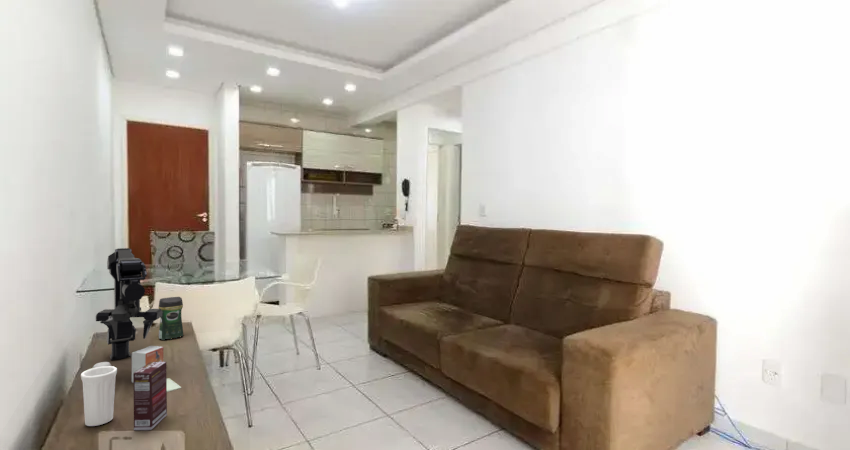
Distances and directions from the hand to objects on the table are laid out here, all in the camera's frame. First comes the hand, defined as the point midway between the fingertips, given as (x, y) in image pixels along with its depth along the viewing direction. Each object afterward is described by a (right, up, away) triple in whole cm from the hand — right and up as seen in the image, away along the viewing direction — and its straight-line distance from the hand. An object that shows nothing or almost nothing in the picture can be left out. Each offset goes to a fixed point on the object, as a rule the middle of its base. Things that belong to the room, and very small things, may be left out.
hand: (129, 338), depth 150 cm
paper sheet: (+15, -14, -9) cm, 22 cm away
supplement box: (+27, -15, -31) cm, 44 cm away
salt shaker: (+7, -14, -22) cm, 27 cm away
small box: (+7, -14, -2) cm, 16 cm away
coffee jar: (-12, -12, +45) cm, 48 cm away
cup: (+13, -15, -31) cm, 37 cm away
